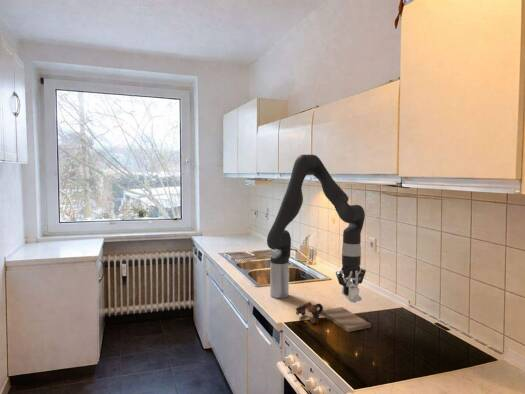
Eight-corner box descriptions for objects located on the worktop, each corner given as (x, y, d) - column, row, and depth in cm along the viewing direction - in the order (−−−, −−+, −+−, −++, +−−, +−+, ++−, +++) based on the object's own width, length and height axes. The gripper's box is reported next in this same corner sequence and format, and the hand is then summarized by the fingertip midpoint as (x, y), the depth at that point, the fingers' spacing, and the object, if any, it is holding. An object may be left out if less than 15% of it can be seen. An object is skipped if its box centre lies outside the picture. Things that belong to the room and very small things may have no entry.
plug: (340, 291, 160) (342, 280, 159) (346, 290, 162) (349, 279, 160) (354, 306, 151) (357, 294, 150) (361, 304, 153) (364, 293, 151)
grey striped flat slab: (321, 313, 167) (321, 310, 167) (341, 310, 171) (341, 307, 171) (348, 331, 149) (348, 328, 149) (370, 327, 153) (370, 323, 153)
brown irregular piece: (306, 327, 155) (298, 307, 157) (298, 328, 163) (290, 310, 165) (330, 315, 159) (321, 296, 161) (321, 317, 168) (313, 299, 170)
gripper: (359, 250, 161) (358, 289, 163) (331, 253, 156) (330, 293, 157) (371, 254, 155) (369, 295, 156) (342, 257, 149) (341, 299, 150)
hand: (350, 294), depth 157 cm, fingers closed on plug, 3 cm apart
